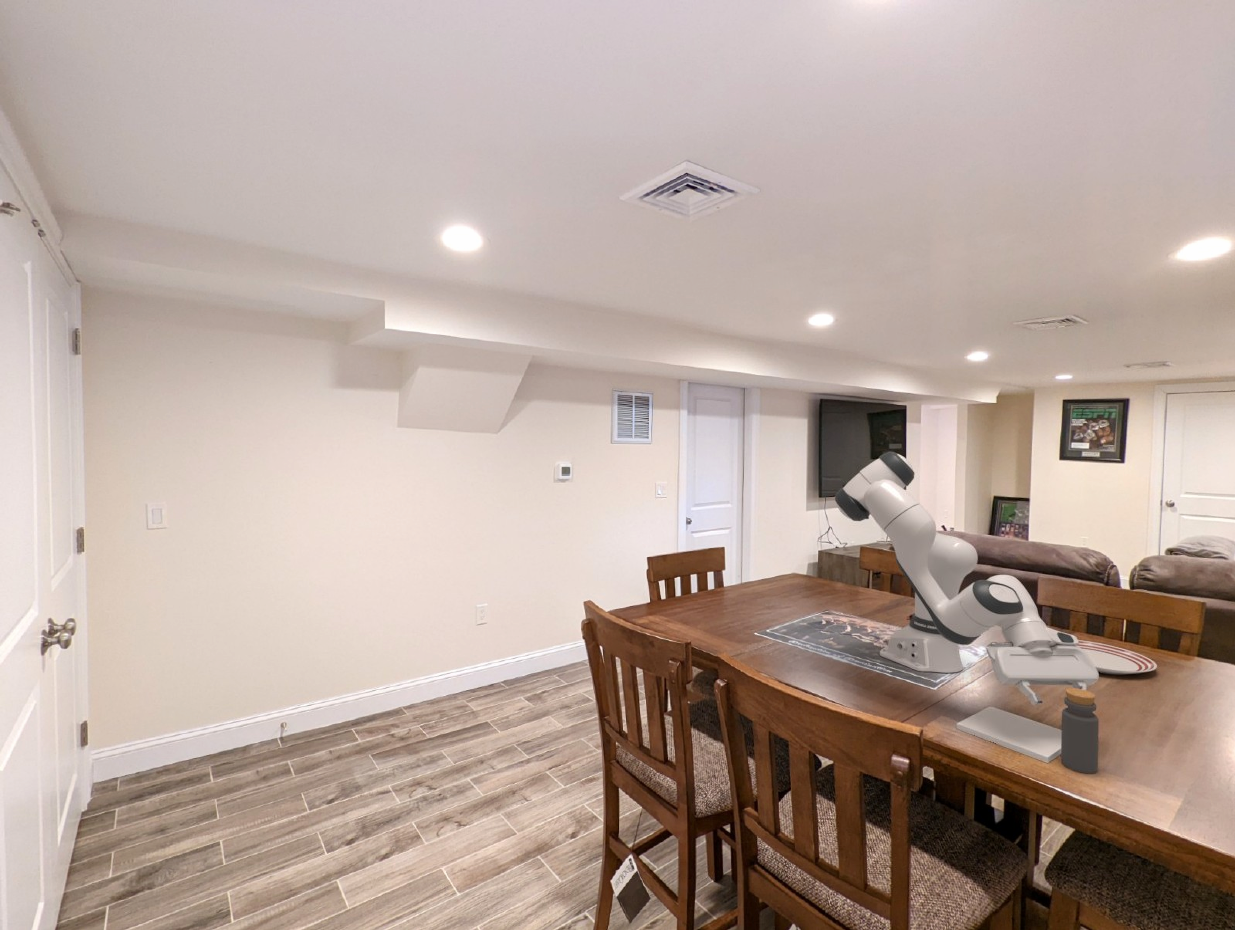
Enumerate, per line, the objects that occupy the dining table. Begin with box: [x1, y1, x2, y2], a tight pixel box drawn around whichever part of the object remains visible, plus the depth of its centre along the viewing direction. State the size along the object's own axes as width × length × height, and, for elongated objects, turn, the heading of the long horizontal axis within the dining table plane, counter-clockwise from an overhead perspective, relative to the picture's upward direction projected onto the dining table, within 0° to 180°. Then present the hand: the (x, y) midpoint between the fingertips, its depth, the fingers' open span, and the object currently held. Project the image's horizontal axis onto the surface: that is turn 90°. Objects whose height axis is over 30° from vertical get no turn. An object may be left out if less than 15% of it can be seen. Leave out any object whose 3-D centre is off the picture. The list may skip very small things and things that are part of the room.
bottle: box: [1060, 687, 1100, 775], centre depth 119 cm, size 6×6×15 cm
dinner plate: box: [1077, 639, 1158, 675], centre depth 176 cm, size 28×27×3 cm
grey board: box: [956, 706, 1062, 764], centre depth 133 cm, size 18×16×1 cm
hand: (1060, 704), depth 124 cm, fingers open, 8 cm apart
